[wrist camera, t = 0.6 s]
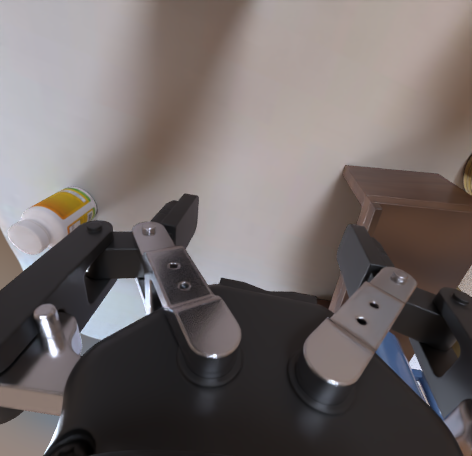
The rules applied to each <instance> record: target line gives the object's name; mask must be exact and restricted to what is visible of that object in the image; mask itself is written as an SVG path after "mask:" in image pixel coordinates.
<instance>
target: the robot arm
mask: <svg viewBox="0 0 472 456" xmlns="http://www.w3.org/2000/svg"><path fill="white" fill-rule="evenodd" d="M198 204H199V197H198V196H196V195H190V194H184V195H183V196H182V197H181V198H180V199H179V201H175V200H173V201H171V202H169V203H166V204H165V206H164V207H163V208H162V209H161V210H160V211H159V212H158V213H157V214H156V216H155V217H154V218H153V219H152V220H151V221H150V222H142V223H138V224H136V225H135V226H134V227H133V228H132V231H131V232H113V227H112V225H111V224H110V223H109V222H106V221H99V220H96V221H89V222H85V223H83V224H81V225H79V226H78V227H77V228H75V229H74V230H73V231H72V232H71V233H69V234H68V235H67V236H66V237H64V238H63V239H62V240H61V241H60V242H58V243H57V244H56V245H55V246H54V247H52V248H51V249H50V250H49V251H48V252H46V253H45V254H44V255H43V256H41V257H40V258H39V259H38V260H37V261H35V262H34V263H33V264H32V265H31V266H29V267H28V268H27V269H26V270H24V271H23V272H22V273H21V274H20V275H19V276H17V277H16V278H15V279H14V280H12V281H11V282H10V283H9V284H8V285H6V286H5V287H4V288H3V289H1V290H0V424H3V423H6V422H8V421H10V420H12V419H14V418H15V417H17V416H18V415H20V413H22V412H23V411H24V410H25V411H32V412H39V413H44V414H51V415H57V416H60V418H59V422H58V425H57V428H56V431H55V433H54V435H53V438H52V441H51V443H50V445H49V447H48V448H47V450H46V452H45V453H44V455H43V456H472V297H470V296H469V295H467V294H466V293H464V292H462V291H459V290H457V289H454V288H449V287H443V288H441V289H440V290H439V292H438V293H437V295H436V294H433V293H430V292H428V291H425V290H422V289H420V288H417V281H416V280H415V279H414V278H413V277H412V276H411V275H410V274H408V273H407V272H405V271H403V270H401V269H398V268H395V266H394V264H393V263H392V261H391V260H390V258H389V256H387V253H386V252H385V251H384V248H383V247H382V245H381V243H379V242H378V241H377V240H376V239H375V238H373V237H371V236H370V235H369V233H368V231H367V230H366V228H365V227H364V226H359V225H354V224H348V226H347V227H346V230H345V232H344V235H343V237H342V240H341V242H340V245H339V247H338V251H337V262H338V265H339V268H340V271H341V274H342V277H343V280H344V283H345V286H346V290H347V293H348V296H349V299H348V300H347V301H346V302H345V303H344V304H343V305H342V306H341V307H340V308H339V309H338V310H337V311H336V312H335V313H333V312H332V311H330V310H329V309H327V308H325V307H323V306H321V305H319V304H317V299H316V296H311V295H306V294H301V293H296V292H270V291H265V290H263V289H260V288H258V287H255V286H253V285H250V284H247V283H245V282H240V281H235V280H230V279H225V278H221V280H220V283H219V284H213V285H208V284H207V283H206V281H205V280H204V278H203V276H202V275H201V273H200V272H199V270H198V269H197V267H196V265H195V264H194V262H193V261H192V259H191V257H190V256H189V254H188V253H187V251H186V247H187V246H188V244H189V242H190V240H191V238H192V237H193V235H194V233H195V230H196V227H197V219H198ZM118 278H135V279H136V283H137V286H138V289H139V292H140V295H141V298H142V301H143V304H144V307H145V311H146V316H145V317H143V318H141V319H139V320H137V321H136V322H134V323H132V324H130V325H128V326H127V327H125V328H123V329H121V330H119V331H117V332H116V333H114V334H112V335H110V336H108V337H106V338H105V339H103V340H101V341H100V342H98V343H97V344H95V345H94V346H93V347H91V348H90V349H89V350H88V351H87V352H86V353H85V354H83V356H80V353H81V350H82V341H81V337H80V332H81V331H82V329H83V328H84V326H85V325H86V324H87V322H88V321H89V319H90V318H91V316H92V315H93V314H94V312H95V311H96V309H97V308H98V306H99V305H100V304H101V302H102V301H103V299H104V298H105V296H106V295H107V294H108V292H109V291H110V289H111V288H112V286H113V285H114V284H115V282H116V281H117V279H118ZM390 329H391V330H393V331H396V332H398V333H400V334H403V335H405V336H407V337H409V341H410V343H411V345H412V348H413V350H414V352H415V355H416V357H417V359H418V362H419V364H420V366H421V369H422V371H423V373H424V375H425V378H426V380H427V382H428V385H429V387H430V389H431V392H432V394H433V396H434V399H435V401H436V403H437V405H438V408H439V410H440V412H441V415H442V417H443V420H442V419H441V418H440V417H439V416H438V414H437V413H436V412H435V411H434V410H433V409H432V408H431V407H430V406H429V405H428V404H427V403H426V402H425V401H424V400H423V399H422V398H421V397H420V396H419V395H418V394H417V393H416V392H415V391H414V390H413V389H412V388H411V387H410V386H409V385H408V384H407V383H406V382H405V381H404V380H403V379H402V378H400V377H399V376H398V375H397V374H396V373H395V372H394V371H393V370H392V369H391V368H390V367H389V366H388V365H387V364H386V363H385V362H384V361H383V360H382V359H381V358H380V357H379V356H378V355H377V354H376V353H375V352H376V351H377V349H378V348H379V346H380V344H381V343H382V341H383V340H384V338H385V337H386V335H387V333H388V332H389V330H390ZM456 341H458V343H459V345H460V356H459V358H458V357H457V355H456V353H455V352H454V350H453V348H452V346H453V344H454V343H455V342H456Z"/></svg>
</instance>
